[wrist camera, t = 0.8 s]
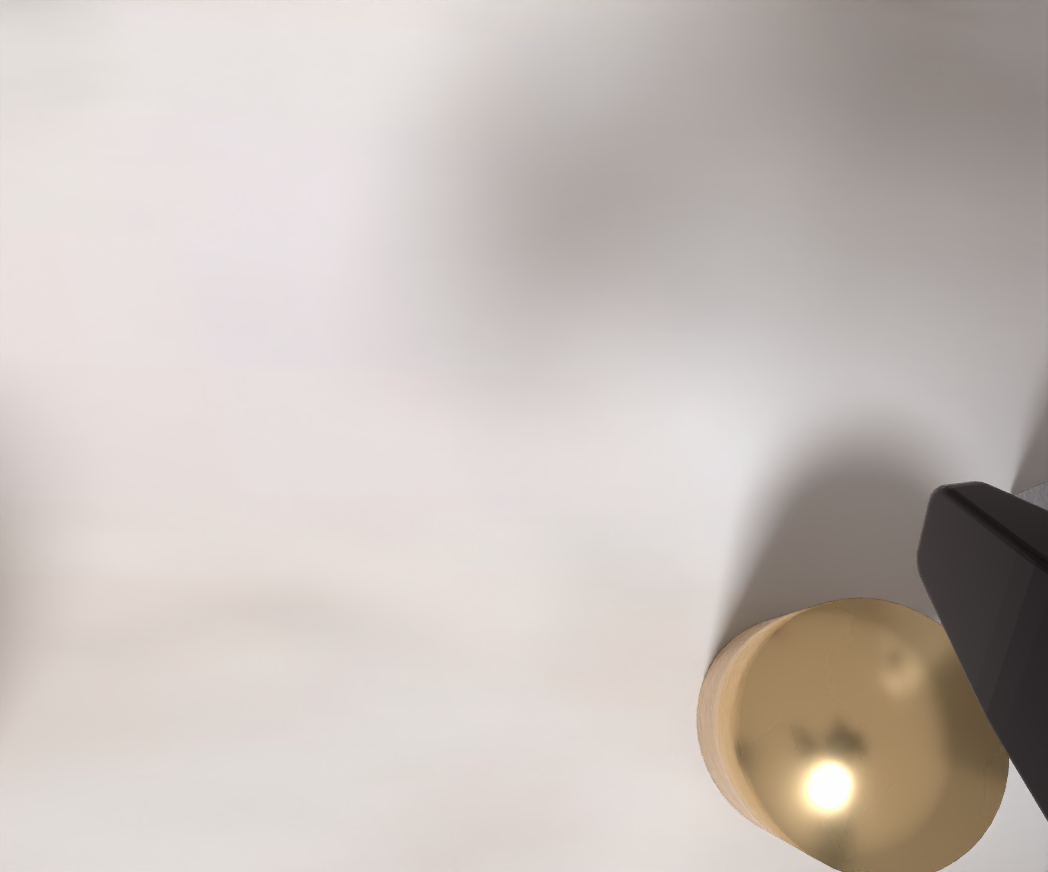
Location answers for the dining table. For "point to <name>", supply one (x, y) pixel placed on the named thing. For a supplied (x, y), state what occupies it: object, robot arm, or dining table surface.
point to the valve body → (1036, 495)
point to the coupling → (853, 737)
